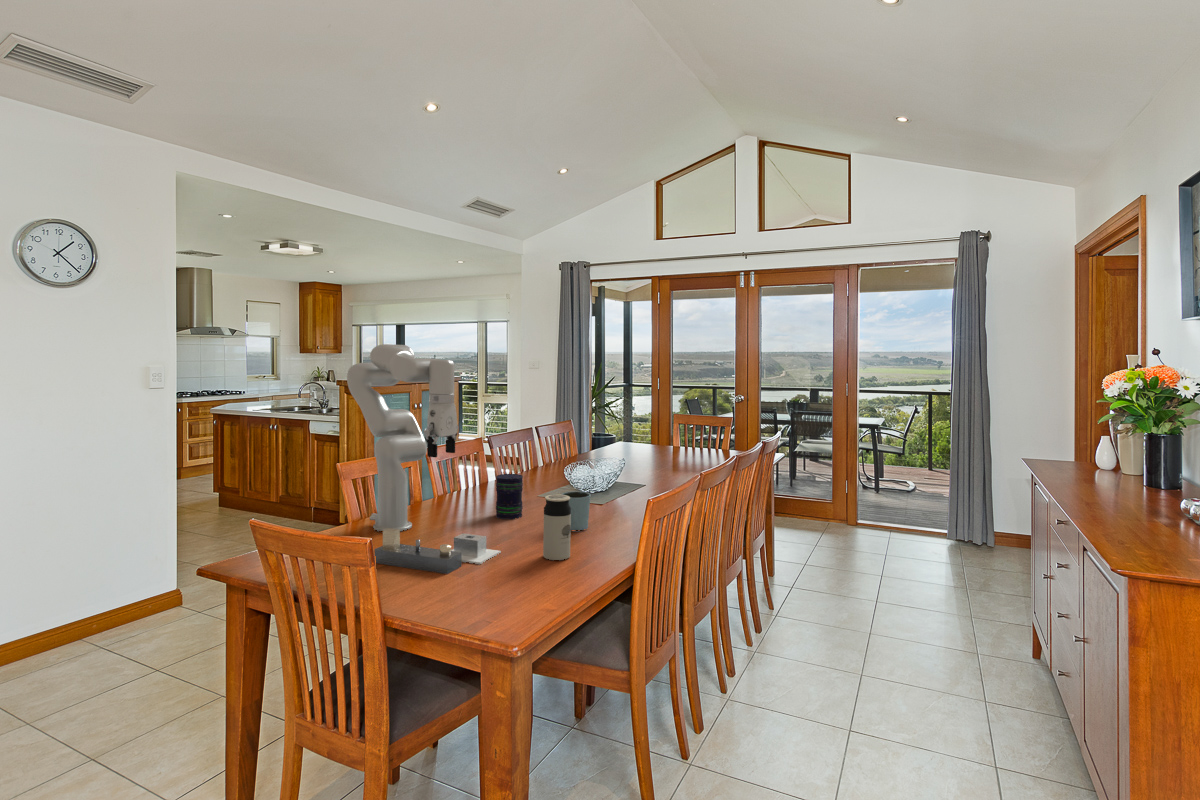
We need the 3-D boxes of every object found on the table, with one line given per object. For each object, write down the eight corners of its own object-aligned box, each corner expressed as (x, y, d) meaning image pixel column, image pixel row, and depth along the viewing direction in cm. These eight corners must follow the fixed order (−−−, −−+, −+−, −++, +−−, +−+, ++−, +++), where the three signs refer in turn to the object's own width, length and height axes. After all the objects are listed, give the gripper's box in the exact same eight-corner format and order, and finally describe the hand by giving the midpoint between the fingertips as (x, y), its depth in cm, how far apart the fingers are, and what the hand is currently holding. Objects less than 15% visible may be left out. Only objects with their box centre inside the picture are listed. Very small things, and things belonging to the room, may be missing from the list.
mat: (438, 558, 187) (438, 556, 187) (460, 547, 198) (460, 545, 198) (480, 564, 182) (480, 562, 182) (500, 552, 193) (500, 550, 193)
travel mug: (537, 556, 191) (538, 496, 190) (559, 551, 196) (560, 493, 195) (553, 563, 185) (554, 501, 184) (575, 557, 190) (576, 497, 189)
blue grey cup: (591, 525, 227) (592, 491, 227) (588, 533, 217) (588, 498, 217) (563, 524, 228) (563, 490, 228) (558, 531, 218) (559, 496, 218)
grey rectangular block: (453, 554, 189) (453, 537, 189) (462, 549, 194) (463, 533, 193) (477, 557, 186) (477, 540, 186) (486, 552, 191) (486, 536, 191)
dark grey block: (374, 562, 182) (374, 531, 181) (390, 555, 188) (390, 525, 188) (447, 574, 174) (447, 541, 173) (461, 566, 180) (461, 534, 180)
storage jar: (492, 514, 241) (492, 474, 240) (517, 511, 245) (518, 473, 244) (499, 520, 232) (500, 479, 231) (525, 518, 236) (526, 477, 235)
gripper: (435, 401, 188) (435, 459, 189) (467, 398, 204) (467, 452, 205) (414, 400, 191) (414, 457, 192) (447, 397, 207) (446, 450, 208)
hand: (441, 454), depth 199 cm, fingers open, 9 cm apart
